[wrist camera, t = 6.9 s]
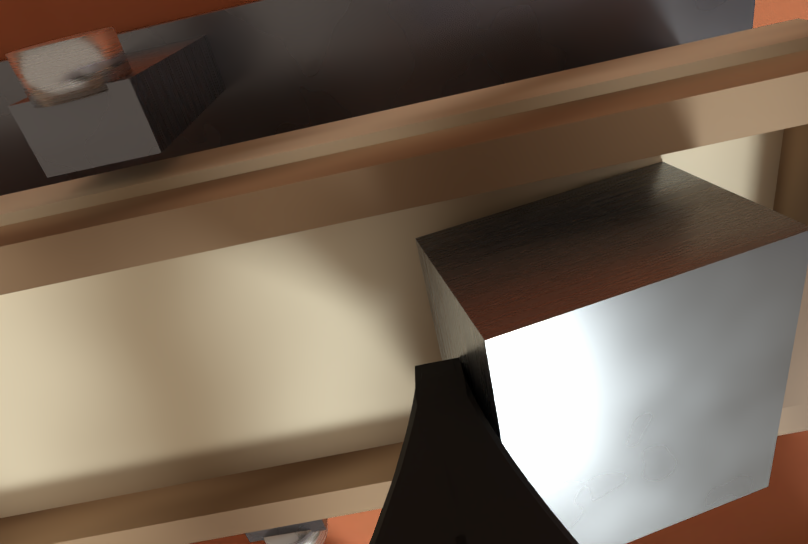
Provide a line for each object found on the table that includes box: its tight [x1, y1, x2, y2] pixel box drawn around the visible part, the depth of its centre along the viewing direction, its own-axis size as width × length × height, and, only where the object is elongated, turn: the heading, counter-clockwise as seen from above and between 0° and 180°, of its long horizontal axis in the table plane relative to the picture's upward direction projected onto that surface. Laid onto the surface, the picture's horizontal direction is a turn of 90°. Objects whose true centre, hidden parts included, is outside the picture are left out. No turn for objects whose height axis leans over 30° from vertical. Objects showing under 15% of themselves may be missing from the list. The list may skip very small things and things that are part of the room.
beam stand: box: [0, 0, 755, 544], centre depth 14 cm, size 26×13×5 cm, turn 102°
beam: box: [0, 18, 808, 544], centre depth 12 cm, size 24×8×2 cm, turn 102°
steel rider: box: [415, 162, 808, 544], centre depth 10 cm, size 4×5×3 cm
